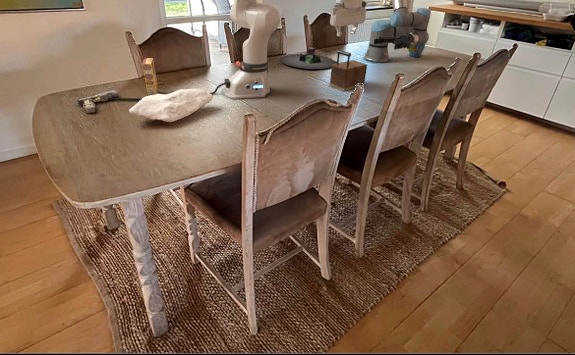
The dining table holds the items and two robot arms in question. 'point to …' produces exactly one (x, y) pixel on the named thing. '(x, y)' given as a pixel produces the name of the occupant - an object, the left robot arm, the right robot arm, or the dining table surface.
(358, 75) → the chest
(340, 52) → the lid
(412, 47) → the snack cup
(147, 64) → the candy box
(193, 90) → the crumpled cloth
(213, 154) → the dining table surface
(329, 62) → the round grey tray
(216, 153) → the dining table surface
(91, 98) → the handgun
